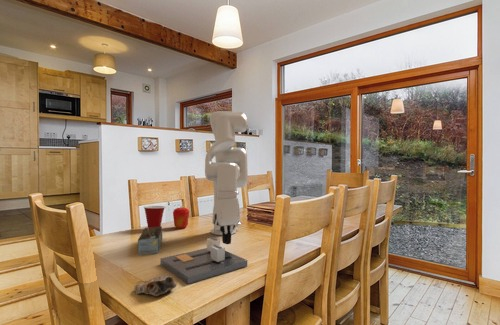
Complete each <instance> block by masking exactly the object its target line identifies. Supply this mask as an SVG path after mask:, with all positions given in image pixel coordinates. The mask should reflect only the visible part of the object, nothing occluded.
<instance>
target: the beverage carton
mask: <svg viewBox="0 0 500 325" xmlns="http://www.w3.org/2000/svg"><path fill="white" fill-rule="evenodd" d="M162 243H163V227H162V226H161V227H149V228H148V227H144V229H143V230H142V232H141V233H140V235H139V238H138V239H137V254H138V255H148V254H150V255H151V254H152V255H153V254H159V252H160V249H161V246H162Z"/></svg>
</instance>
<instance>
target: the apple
mask: <svg viewBox="0 0 500 325" xmlns="http://www.w3.org/2000/svg"><path fill="white" fill-rule="evenodd" d="M172 215H173V216H172V217H173V222H174V227H175V228H176V229H178V230H180V229H186V227H187V226H188V224H189V219H190V218H189V217H190V210H189V208H187V207H182V206H180V207H177V208H175V209H173V212H172Z"/></svg>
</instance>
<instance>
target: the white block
mask: <svg viewBox="0 0 500 325" xmlns="http://www.w3.org/2000/svg"><path fill="white" fill-rule="evenodd" d="M225 251H226V248H225V247H223V246H222V245H220V246H219V245H216V244H214V246H212V247H211V259H213V260H215V261H216V262H218V261H222V260H225Z"/></svg>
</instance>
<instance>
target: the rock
mask: <svg viewBox="0 0 500 325" xmlns="http://www.w3.org/2000/svg"><path fill="white" fill-rule="evenodd" d="M177 286H178V285H177V283H176V282H175V279H174V277H173V276H171V275H166V274H161V275H159V276H156V277H153V278H152V279H149V280H145V281H143V282H141V283H137V284H135V285H134V288H133V290H134V291H135V295H141V294H144V295H145V294H146V295H152V296H154V297H159V296H161V295H164V294H166V293H169V292H170V291H171V290H173V289H175V288H176V287H177Z"/></svg>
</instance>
